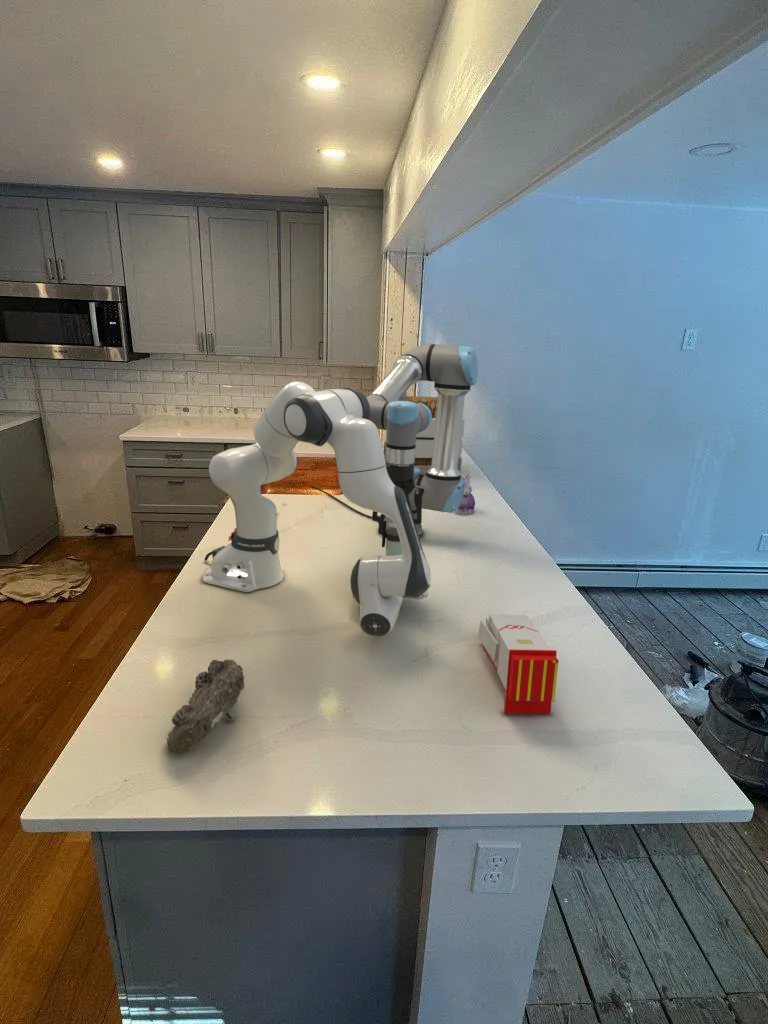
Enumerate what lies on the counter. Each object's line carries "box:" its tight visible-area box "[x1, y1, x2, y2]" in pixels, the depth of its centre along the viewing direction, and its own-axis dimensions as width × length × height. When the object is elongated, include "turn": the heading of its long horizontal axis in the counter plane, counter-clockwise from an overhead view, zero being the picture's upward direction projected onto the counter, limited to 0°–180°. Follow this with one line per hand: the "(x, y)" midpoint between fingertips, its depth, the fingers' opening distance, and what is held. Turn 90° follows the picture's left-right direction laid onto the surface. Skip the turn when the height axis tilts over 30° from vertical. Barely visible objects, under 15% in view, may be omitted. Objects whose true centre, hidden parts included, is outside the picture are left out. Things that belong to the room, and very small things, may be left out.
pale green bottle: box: [385, 539, 404, 556], centre depth 155 cm, size 5×5×18 cm
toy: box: [477, 613, 560, 715], centre depth 124 cm, size 12×13×30 cm
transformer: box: [383, 391, 465, 474], centre depth 268 cm, size 34×33×41 cm
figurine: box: [455, 473, 476, 515], centre depth 223 cm, size 9×10×15 cm
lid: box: [385, 528, 400, 541], centre depth 152 cm, size 6×6×2 cm
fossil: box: [166, 658, 245, 754], centre depth 106 cm, size 22×10×15 cm
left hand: (394, 570), depth 157 cm, fingers closed on pale green bottle, 5 cm apart
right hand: (395, 545), depth 153 cm, fingers closed on lid, 6 cm apart
